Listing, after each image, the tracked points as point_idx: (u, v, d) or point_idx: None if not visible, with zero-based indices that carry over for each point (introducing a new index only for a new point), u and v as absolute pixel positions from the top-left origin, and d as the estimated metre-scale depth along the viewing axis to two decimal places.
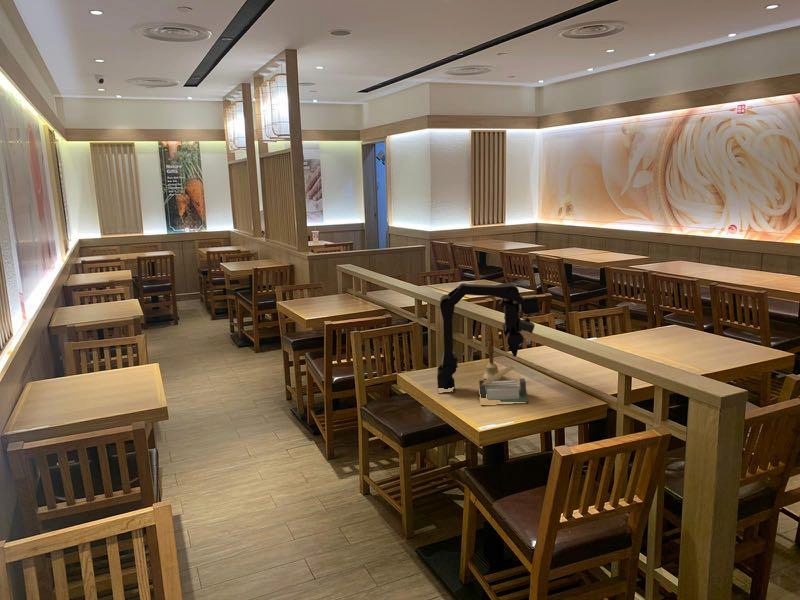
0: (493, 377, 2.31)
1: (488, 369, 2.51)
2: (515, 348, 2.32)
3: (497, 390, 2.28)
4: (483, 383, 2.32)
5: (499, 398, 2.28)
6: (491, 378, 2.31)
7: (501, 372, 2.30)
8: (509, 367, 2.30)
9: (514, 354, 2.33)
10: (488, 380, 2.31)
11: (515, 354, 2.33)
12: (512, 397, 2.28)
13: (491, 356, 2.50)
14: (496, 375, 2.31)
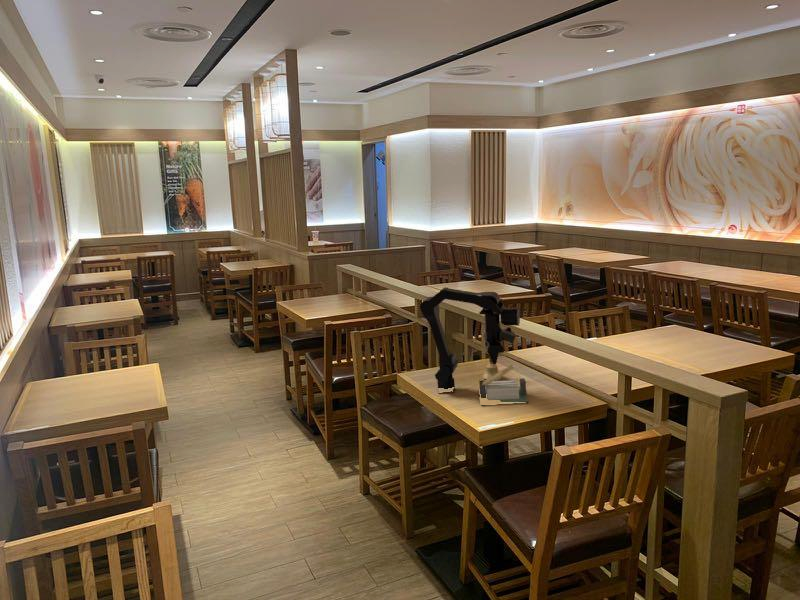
0: (493, 377, 2.31)
1: (488, 369, 2.51)
2: (495, 356, 2.30)
3: (497, 390, 2.28)
4: (483, 383, 2.32)
5: (499, 398, 2.28)
6: (491, 378, 2.31)
7: (501, 372, 2.30)
8: (509, 367, 2.30)
9: (494, 362, 2.32)
10: (488, 380, 2.31)
11: (494, 361, 2.32)
12: (512, 397, 2.28)
13: None
14: (496, 375, 2.31)
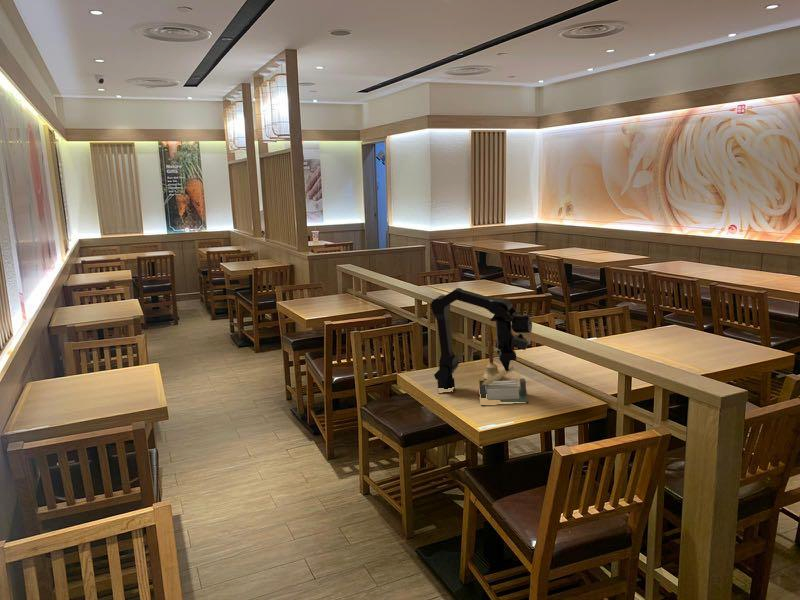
0: (493, 377, 2.31)
1: (488, 369, 2.51)
2: (507, 362, 2.28)
3: (497, 390, 2.28)
4: (483, 383, 2.32)
5: (499, 398, 2.28)
6: (491, 378, 2.31)
7: (501, 373, 2.30)
8: (510, 368, 2.30)
9: (506, 368, 2.29)
10: (488, 380, 2.31)
11: (506, 367, 2.29)
12: (512, 397, 2.28)
13: (491, 356, 2.50)
14: (496, 375, 2.31)
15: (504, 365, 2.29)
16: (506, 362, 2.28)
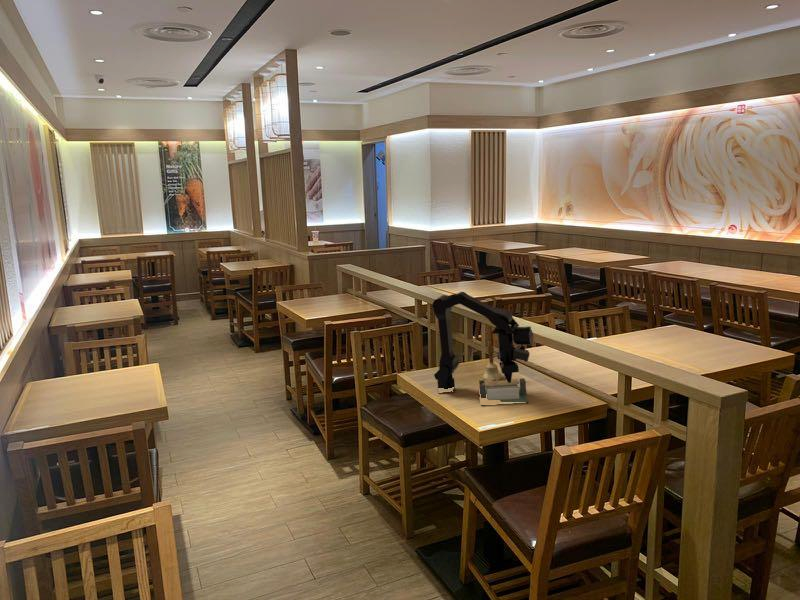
0: (496, 383, 2.31)
1: (488, 369, 2.51)
2: (509, 374, 2.29)
3: (497, 390, 2.28)
4: (484, 384, 2.32)
5: (499, 398, 2.28)
6: (493, 383, 2.32)
7: (505, 381, 2.31)
8: (514, 380, 2.31)
9: (508, 380, 2.30)
10: (490, 383, 2.32)
11: (509, 379, 2.30)
12: (512, 397, 2.28)
13: (491, 356, 2.50)
14: (499, 382, 2.31)
15: (507, 377, 2.29)
16: (508, 374, 2.29)
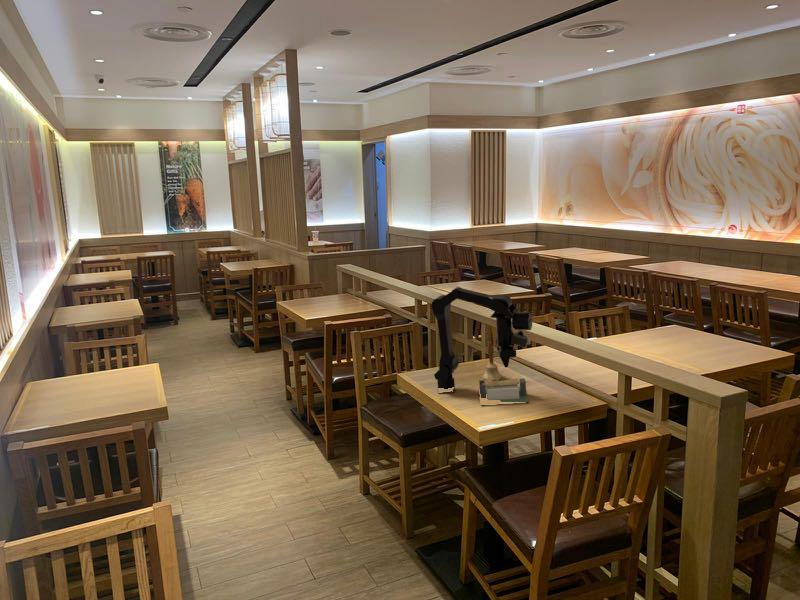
0: (496, 383, 2.31)
1: (488, 369, 2.51)
2: (506, 359, 2.27)
3: (497, 390, 2.28)
4: (484, 384, 2.32)
5: (499, 398, 2.28)
6: (493, 383, 2.32)
7: (505, 381, 2.31)
8: (514, 380, 2.31)
9: (505, 365, 2.29)
10: (490, 383, 2.32)
11: (506, 364, 2.29)
12: (512, 397, 2.28)
13: (491, 356, 2.50)
14: (499, 382, 2.31)
15: (504, 362, 2.28)
16: (506, 359, 2.27)
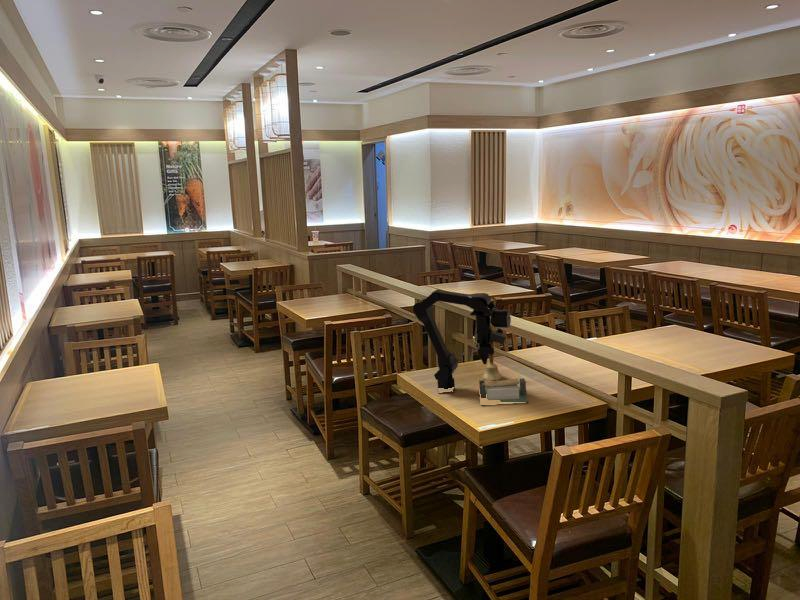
0: (496, 383, 2.31)
1: (488, 369, 2.51)
2: (485, 356, 2.32)
3: (497, 390, 2.28)
4: (484, 384, 2.32)
5: (499, 398, 2.28)
6: (493, 383, 2.32)
7: (505, 381, 2.31)
8: (514, 380, 2.31)
9: (484, 362, 2.33)
10: (490, 383, 2.32)
11: (484, 361, 2.33)
12: (512, 397, 2.28)
13: (491, 356, 2.50)
14: (499, 382, 2.31)
15: (482, 359, 2.32)
16: (484, 356, 2.32)
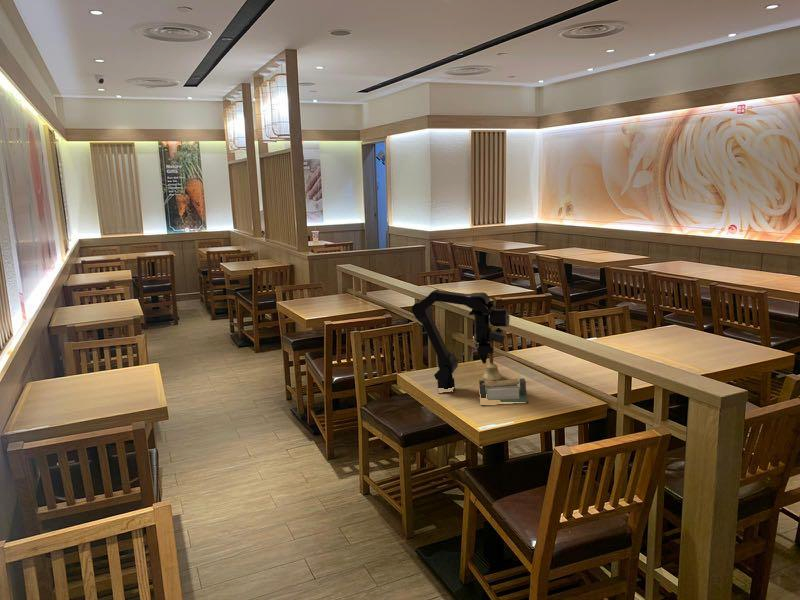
0: (496, 383, 2.31)
1: (488, 369, 2.51)
2: (484, 355, 2.32)
3: (497, 390, 2.28)
4: (484, 384, 2.32)
5: (499, 398, 2.28)
6: (493, 383, 2.32)
7: (505, 381, 2.31)
8: (514, 380, 2.31)
9: (483, 361, 2.33)
10: (490, 383, 2.32)
11: (484, 361, 2.33)
12: (512, 397, 2.28)
13: (491, 356, 2.50)
14: (499, 382, 2.31)
15: (482, 358, 2.33)
16: (484, 355, 2.32)
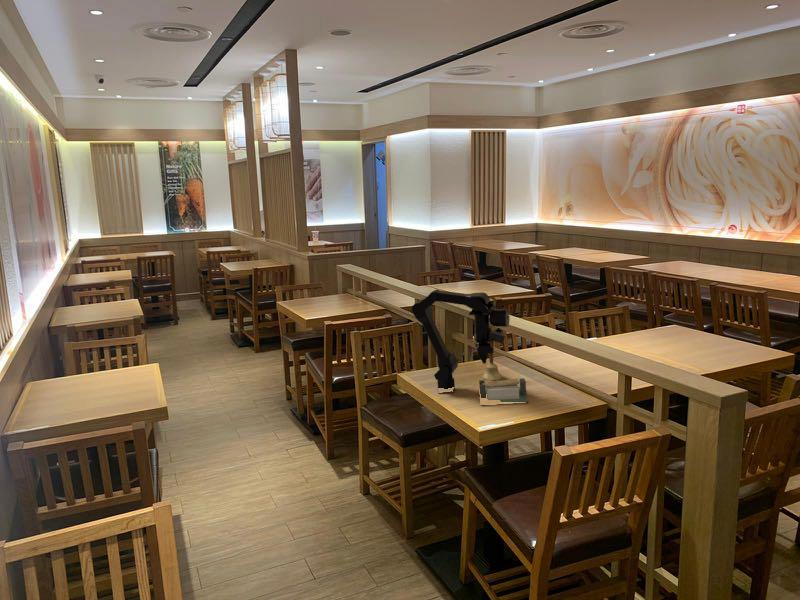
0: (496, 383, 2.31)
1: (488, 369, 2.51)
2: (484, 355, 2.32)
3: (497, 390, 2.28)
4: (484, 384, 2.32)
5: (499, 398, 2.28)
6: (493, 383, 2.32)
7: (505, 381, 2.31)
8: (514, 380, 2.31)
9: (483, 361, 2.33)
10: (490, 383, 2.32)
11: (484, 361, 2.33)
12: (512, 397, 2.28)
13: (491, 356, 2.50)
14: (499, 382, 2.31)
15: (482, 358, 2.33)
16: (484, 355, 2.32)
